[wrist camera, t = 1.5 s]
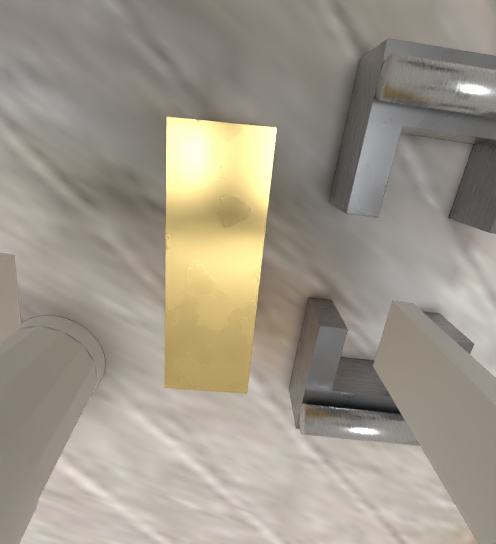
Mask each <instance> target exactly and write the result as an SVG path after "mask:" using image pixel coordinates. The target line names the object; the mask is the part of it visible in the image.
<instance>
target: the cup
mask: <svg viewBox="0 0 496 544" xmlns="http://www.w3.org/2000/svg"><path fill="white" fill-rule="evenodd" d="M21 326H22V327H21V328H20V329H18V330H17V331H16V332H14V333H13V334H12V335H11V336H9V337H8V338H7V339H6V340H4V341H3V342H2V343H0V544H19V543H20V541H21V538H22V536H23V534H24V532H25V530H26V528H27V526H28V524H29V522H30V520H31V518H32V515H33V513H34V511H35V509H36V507H37V504H38V499H39V497H40V495H41V493H42V491H43V489H44V487H45V485H46V483H47V481H48V479H49V477H50V475H51V473H52V471H53V469H54V467H55V465H56V463H57V461H58V459H59V457H60V455H61V453H62V451H63V449H64V447H65V445H66V443H67V441H68V439H69V437H70V435H71V433H72V431H73V429H74V427H75V425H76V423H77V421H78V419H79V417H80V415H81V413H82V411H83V409H84V407H85V405H86V403H87V401H88V399H89V397H90V396H91V394H92V393H93V391H94V390H95V388H96V387H97V385H98V383H99V382H100V380H101V378H102V376H103V374H104V371H105V356H104V353H103V350H102V348H101V346H100V344H99V342H98V341H97V340H96V338H95V337H94V336H93V335H92V334H91V333H90V332H89V331H88V330H87V329H85V328H84V327H82V326H81V325H79V324H78V323H76V322H74V321H71V320H69V319H66V318H62V317H57V316H38V317H34V318H31V319H28V320H26V321H24V322H23V323H21Z"/></svg>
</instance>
